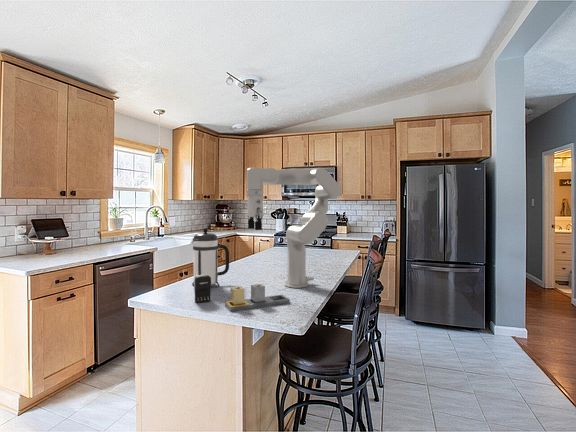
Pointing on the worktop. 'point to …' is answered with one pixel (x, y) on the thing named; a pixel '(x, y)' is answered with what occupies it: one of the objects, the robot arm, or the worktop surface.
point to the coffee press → (208, 256)
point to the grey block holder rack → (249, 305)
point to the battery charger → (202, 288)
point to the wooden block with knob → (237, 295)
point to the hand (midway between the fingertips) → (254, 229)
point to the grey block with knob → (257, 293)
